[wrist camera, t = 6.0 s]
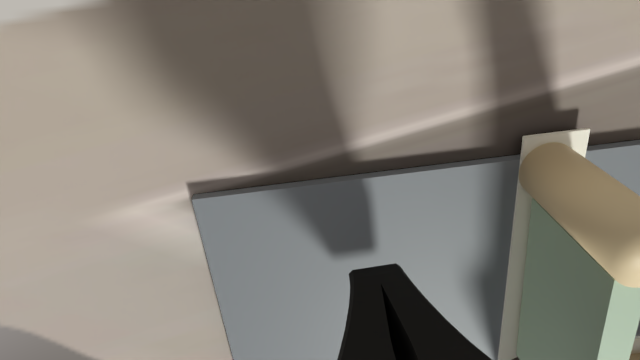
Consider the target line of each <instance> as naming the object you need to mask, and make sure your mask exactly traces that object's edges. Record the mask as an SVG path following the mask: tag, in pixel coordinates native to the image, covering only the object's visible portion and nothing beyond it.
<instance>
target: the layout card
mask: <svg viewBox="0 0 640 360" xmlns="http://www.w3.org/2000/svg"><path fill="white" fill-rule="evenodd" d="M589 134H590V129H589V128H584V129H575V130H567V131H559V132H551V133H543V134H534V135H526V136H523V138H522V147H521V154H519V155H511V156H503V157H495V158H487V159H479V160H471V161H462V162H454V163H446V164H438V165H430V166H422V167H414V168H405V169H397V170H389V171H381V172H373V173H365V174H357V175H348V176H340V177H332V178H324V179H316V180H308V181H300V182H291V183H283V184H275V185H267V186H259V187H251V188H243V189H234V190H226V191H218V192H210V193H202V194H194V195H193V197H192V203H193V207H194V211H195V215H196V219H197V222H198V226H199V230H200V234H201V238H202V242H203V245H204V249H205V253H206V257H207V261H208V264H209V268H210V272H211V276H212V280H213V284H214V287H215V291H216V295H217V299H218V303H219V306H220V310H221V314H222V318H223V322H224V326H225V329H226V333H227V337H228V341H229V345H230V348H231V352H232V356H233V360H337V359H338V355H339V351H340V347H341V343H342V339H343V335H344V331H345V326H346V320H347V314H348V308H349V298H350V280H349V273H350V272H351V271H352V270H356V269H362V268H369V267H375V266H382V265H388V264H394V263H396V264H398V265H399V266H400V267H401V268H402V269H403V271H404V272H405V273H406V275H407V276H408V277H409V279H410V280H411V281H412V282H413V284H414V285H415V286H416V287H417V288H418V290H419V291H420V292H421V293H422V294H423V295H424V296H425V298H426V299H427V300H428V301H429V302H430V303H431V304H432V305H433V306H434V307H435V308H436V309H437V310H438V311H439V312H440V313H441V315H442V316H443V317H444V318H445V319H446V320H447V321H448V322H450V323H451V324H452V325H453V326H454V327H455V328H456V329H457V330H458V331H459V332H460V333H461V334H462V335H463V336H464V337H466V338H467V339H468V340H469V341H470V342H471V343H472V344H474V345H475V346H476V347H477V348H478V349H480V350H481V351H482V352H483V353H485V354H486V355H487V356H488V357H490V358H491V359H492V360H512V359H514V358H516V357H518V356H517V354H516V350H517V340H518V330H519V320H520V311H521V301H522V291H523V282H524V272H525V262H526V252H527V243H528V233H529V223H530V214H531V204H532V198H533V197H532V196H531V195H530V194H529V193H528V192H527V191H526V190H525V189H524V188H523V187H522V186H521V184H520V181H519V169H520V166H521V164H522V162H523V160H524V159H525V157H526V156H527V155H528V154H529V153H530V152H531V151H532V150H534V149H535V148H537V147H539V146H541V145H543V144H546V143H552V142H558V143H562V144H565V145H567V146H569V147H570V148H571V149H573V150H574V151H576V152H577V153H579V154H580V155H581V156H583V157H584V158H586V159H587V160H589V161H590V162H592V163H593V164H594V165H596V166H597V167H599V168H600V169H602V170H603V171H604V172H606V173H607V174H609V175H610V176H612V177H613V178H615V179H616V180H617V181H619V182H620V183H622V184H623V185H625V186H626V187H627V188H629V189H630V190H632V191H633V192H635V193H636V194H638V195H639V196H640V140H633V141H625V142H617V143H609V144H601V145H593V146H587V145H588V139H589ZM634 353H640V320H639V324H638V328H637V332H636V335H635V339H634V343H633V347H632V351H631V354H634Z"/></svg>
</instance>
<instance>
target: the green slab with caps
mask: <svg viewBox="0 0 640 360" xmlns="http://www.w3.org/2000/svg"><path fill="white" fill-rule="evenodd" d="M519 181H520V184H521V186H522V187H523V188H524V189H525V190H526V191H527V192H528V193H529V194H530V195H531V196H532V197H533V198H532V204H531V214H530V223H529V233H528V243H527V252H526V262H525V272H524V282H523V291H522V301H521V311H520V320H519V330H518V340H517V350H516V354H517V356H518V358H519V359H520V360H629V358H630V354H631V351H632V347H633V343H634V339H635V335H636V332H637V328H638V324H639V320H640V196H639V195H638V194H636V193H635V192H633V191H632V190H630V189H629V188H627V187H626V186H625V185H623V184H622V183H620V182H619V181H617V180H616V179H615V178H613V177H612V176H610V175H609V174H607V173H606V172H604V171H603V170H602V169H600V168H599V167H597V166H596V165H594V164H593V163H592V162H590V161H589V160H587V159H586V158H584V157H583V156H581V155H580V154H579V153H577V152H576V151H574V150H573V149H571V148H570V147H569V146H567V145H565V144H562V143H558V142H552V143H546V144H543V145H541V146H539V147H537V148H535V149H534V150H532V151H531V152H530V153H529V154H528V155H527V156H526V157H525V159H524V160H523V162H522V164H521V166H520V169H519Z"/></svg>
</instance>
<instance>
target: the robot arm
mask: <svg viewBox="0 0 640 360" xmlns="http://www.w3.org/2000/svg"><path fill="white" fill-rule="evenodd" d="M349 280H350V298H349V308H348V314H347V320H346V326H345V331H344V335H343V339H342V343H341V347H340V351H339V355H338V359H337V360H492V359H491V358H490V357H488V356H487V355H486V354H485V353H483V352H482V351H481V350H480V349H478V348H477V347H476V346H475V345H474V344H472V343H471V342H470V341H469V340H468V339H467V338H466V337H464V336H463V335H462V334H461V333H460V332H459V331H458V330H457V329H456V328H455V327H454V326H453V325H452V324H451V323H450V322H448V321H447V320H446V319H445V318H444V317H443V316H442V315H441V313H440V312H439V311H438V310H437V309H436V308H435V307H434V306H433V305H432V304H431V303H430V302H429V301H428V300H427V299H426V298H425V296H424V295H423V294H422V293H421V292H420V291H419V290H418V288H417V287H416V286H415V285H414V284H413V282H412V281H411V280H410V279H409V277H408V276H407V275H406V273H405V272H404V271H403V269H402V268H401V267H400V266H399V265H398V264H396V263H394V264H388V265H382V266H375V267H369V268H362V269H356V270H352V271H351V272H350V273H349Z"/></svg>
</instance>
